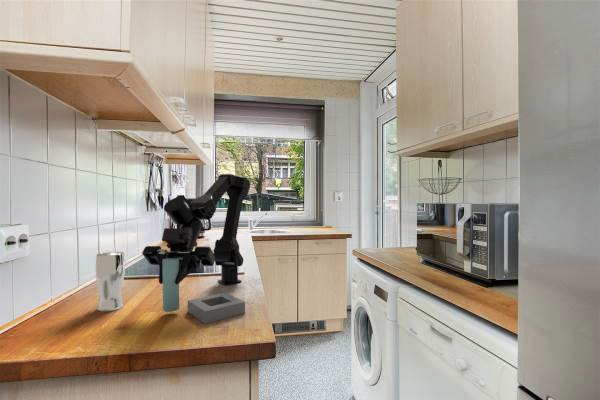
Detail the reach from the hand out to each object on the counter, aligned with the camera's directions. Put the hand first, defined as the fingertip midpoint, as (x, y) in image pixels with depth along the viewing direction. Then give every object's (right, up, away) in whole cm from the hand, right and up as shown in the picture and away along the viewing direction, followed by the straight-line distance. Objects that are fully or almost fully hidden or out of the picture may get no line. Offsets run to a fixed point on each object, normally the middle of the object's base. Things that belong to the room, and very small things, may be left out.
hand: (168, 283), depth 82 cm
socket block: (+12, -8, +3) cm, 15 cm away
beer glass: (-19, -9, +6) cm, 21 cm away
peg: (0, -7, +1) cm, 7 cm away
